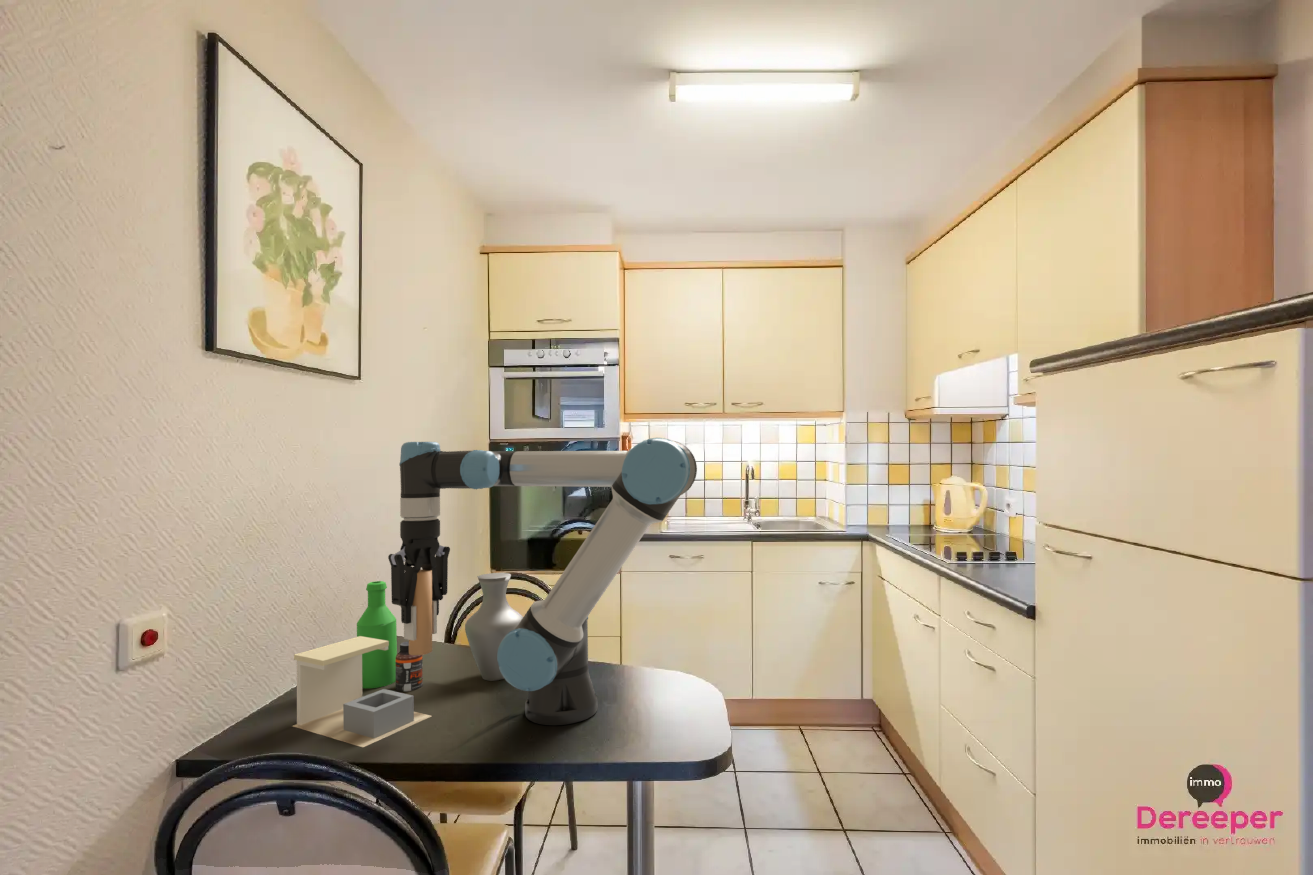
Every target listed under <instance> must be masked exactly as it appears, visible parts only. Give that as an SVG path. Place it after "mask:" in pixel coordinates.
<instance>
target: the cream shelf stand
mask: <svg viewBox="0 0 1313 875" xmlns="http://www.w3.org/2000/svg"><path fill="white" fill-rule="evenodd" d="M388 646H389V641H386V640H380V639H374V638H368V637H363V636H359V637H357V636H355V637H351V638H348V639H345V640H342V641H338V642H335V643H334V642H333V643H330V644H327V645H324V646H320V647H316V648H313V649H310V650H306V651H302V652H299V653H296V654H293V661H294V660H295V661H296V724H298V725H302V724H305V723H307V722H310V721H313V720H315V719H318V718H320V717H323V716H326V715H328V714H331V713H334V712H336V711H339V710H341V709H343V704H345V703H347V702H350V701H353V700H355V699H358V698H361V697H363V688H362V654H364V653H367V652H370V651H373V650H377V649H380V650H388Z"/></svg>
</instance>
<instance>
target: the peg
mask: <svg viewBox="0 0 1313 875" xmlns="http://www.w3.org/2000/svg"><path fill="white" fill-rule="evenodd" d="M412 606H416V640H408V641H409V654H410V655H422V656H424V655H428V654H430V653H431V654H432V652H433V634H432V570H423V569H422V568H421V570H420V571H419V572H418V573H417V583H416V589H415V594H414V600H413V605H412Z"/></svg>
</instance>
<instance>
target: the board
mask: <svg viewBox="0 0 1313 875" xmlns="http://www.w3.org/2000/svg"><path fill="white" fill-rule="evenodd" d="M431 717H433V716H432V715H430V714H425V713H422V712H417V711H414V721H412V722H410V723H408V724H406V725H404V726H401V727H399V728H397V729H395V730H392V731H390V732H388V733H386V734H383V735H381V736H379V737H377V738H375V739H374V738H370V737H367V736H363V735H360V734H356V733H353V732H349V731H346V730H344V723H343V709H341V710H339V711H336V712H334V713H331V714H328V715H326V716H323V717H320V718H318V719H315V720H313V721H310V722H307V723H305V724H302V725H298V724H297V723H296V724H294V725H292V727H293V728H296V729H300V730H303V731H307V732H310V733H313V734H317V735H320V736H324V737H327V738H330V739H334V740H337V741H339V742H340V741H341V742H344V743H346V744H350V745H353V746H357V747H359V748H360V747H361V748H365V747H367V746H369V745H372V744H373V743H374V744H375V743H377V742H378V741H380V740H383V739H384V738H385V739H386V738H387V737H390V736H391V735H392V736H393V735H394V734H396V733H399V732H401V731H403V730H405V729H407V728H409V727H411V726H413V725H416V724H418V723H420V722H423V721H425V720H427V719H430V718H431Z"/></svg>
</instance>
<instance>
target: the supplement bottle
mask: <svg viewBox="0 0 1313 875" xmlns="http://www.w3.org/2000/svg"><path fill="white" fill-rule="evenodd" d="M423 661H424V660H423V655H410V654H409V640H408V641H403V642H401V643H400V644H399V652H397V655H396V672H395V673H396V682H395V691H396V692H410V691H411V692H413V691H416V690H419V689H420V688H422V687H423V685H424V684H423V679H424V678H423V675H424V674H423Z"/></svg>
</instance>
